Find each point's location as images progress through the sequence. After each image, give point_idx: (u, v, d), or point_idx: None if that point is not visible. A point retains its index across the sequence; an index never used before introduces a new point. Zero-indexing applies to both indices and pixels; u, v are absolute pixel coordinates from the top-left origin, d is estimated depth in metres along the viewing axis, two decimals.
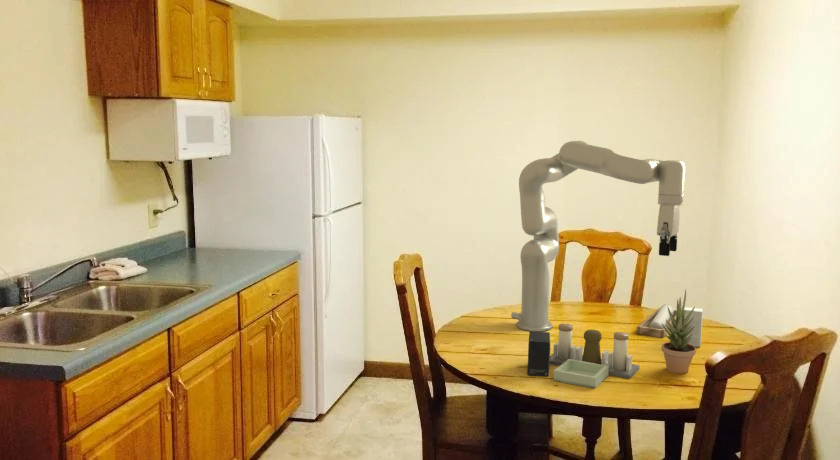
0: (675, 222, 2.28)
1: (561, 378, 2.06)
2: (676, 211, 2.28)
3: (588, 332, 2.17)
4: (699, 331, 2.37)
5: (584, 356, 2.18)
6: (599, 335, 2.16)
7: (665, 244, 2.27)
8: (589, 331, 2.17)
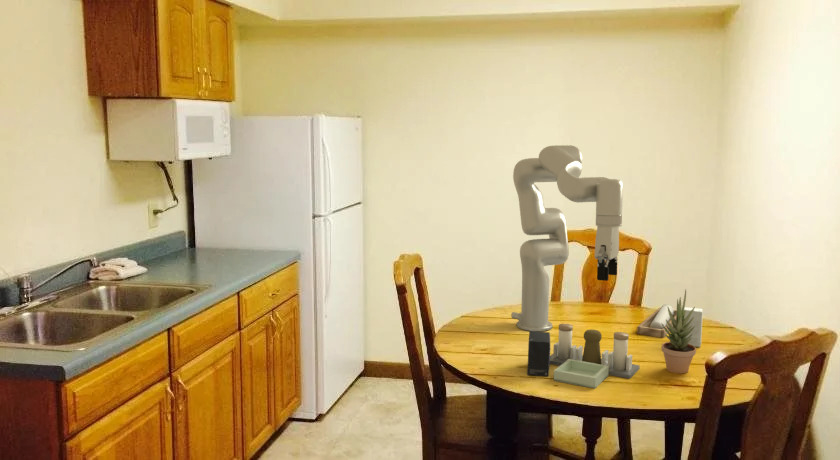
0: (613, 244, 2.15)
1: (561, 378, 2.06)
2: (614, 233, 2.15)
3: (588, 332, 2.17)
4: (699, 331, 2.37)
5: (584, 356, 2.18)
6: (599, 335, 2.16)
7: (603, 268, 2.13)
8: (589, 331, 2.17)
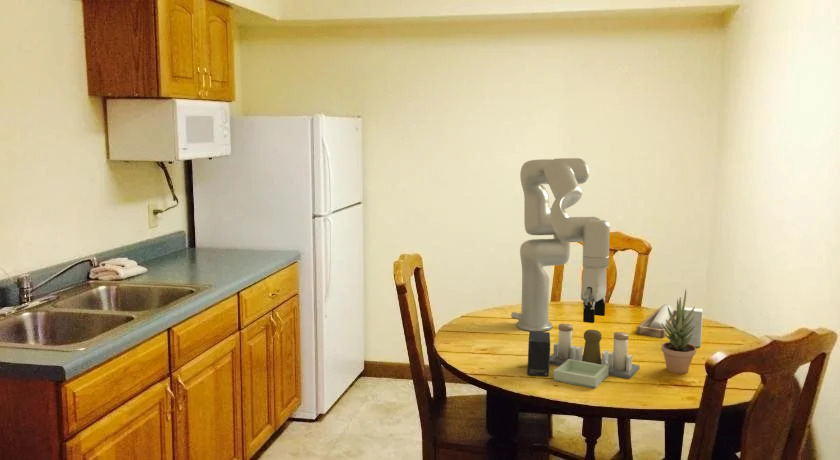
0: (600, 286, 2.12)
1: (561, 378, 2.06)
2: (601, 275, 2.12)
3: (588, 332, 2.17)
4: (699, 331, 2.37)
5: (584, 356, 2.18)
6: (599, 335, 2.16)
7: (589, 310, 2.11)
8: (589, 331, 2.17)
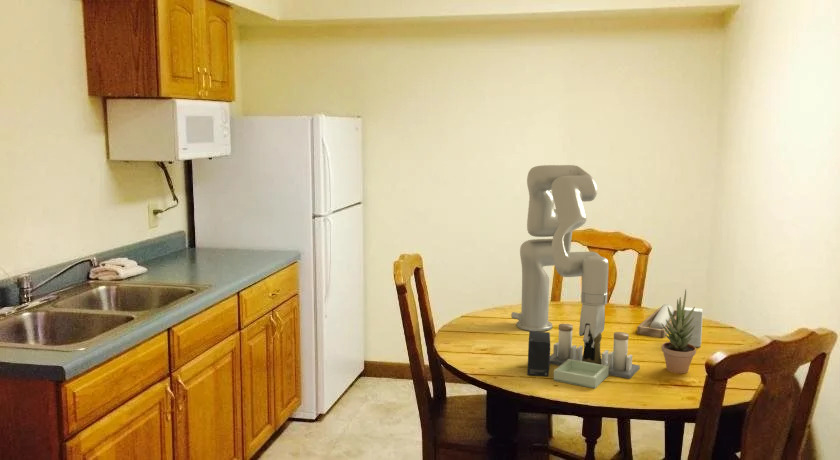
0: (598, 323, 2.14)
1: (561, 378, 2.06)
2: (599, 311, 2.14)
3: None
4: (699, 331, 2.37)
5: None
6: (599, 335, 2.16)
7: (590, 348, 2.16)
8: None
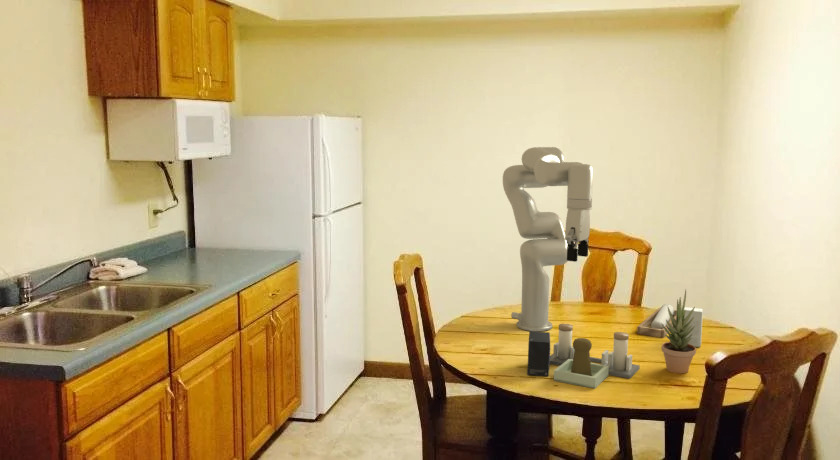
0: (583, 227, 2.24)
1: (561, 378, 2.06)
2: (584, 216, 2.23)
3: (577, 341, 2.06)
4: (699, 331, 2.37)
5: (573, 366, 2.08)
6: (589, 344, 2.06)
7: (572, 249, 2.23)
8: (578, 340, 2.07)
